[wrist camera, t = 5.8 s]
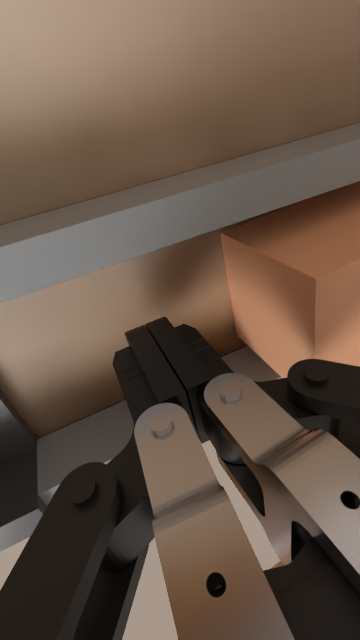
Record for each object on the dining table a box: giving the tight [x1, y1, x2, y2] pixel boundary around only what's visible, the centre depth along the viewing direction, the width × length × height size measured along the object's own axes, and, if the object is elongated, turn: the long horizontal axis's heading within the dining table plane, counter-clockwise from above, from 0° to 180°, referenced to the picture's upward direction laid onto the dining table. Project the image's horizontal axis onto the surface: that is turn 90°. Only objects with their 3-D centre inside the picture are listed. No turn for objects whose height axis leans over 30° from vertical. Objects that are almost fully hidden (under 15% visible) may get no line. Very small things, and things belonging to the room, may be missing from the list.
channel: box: [0, 123, 360, 552], centre depth 11 cm, size 29×9×3 cm, turn 102°
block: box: [220, 181, 360, 378], centre depth 12 cm, size 7×5×5 cm
